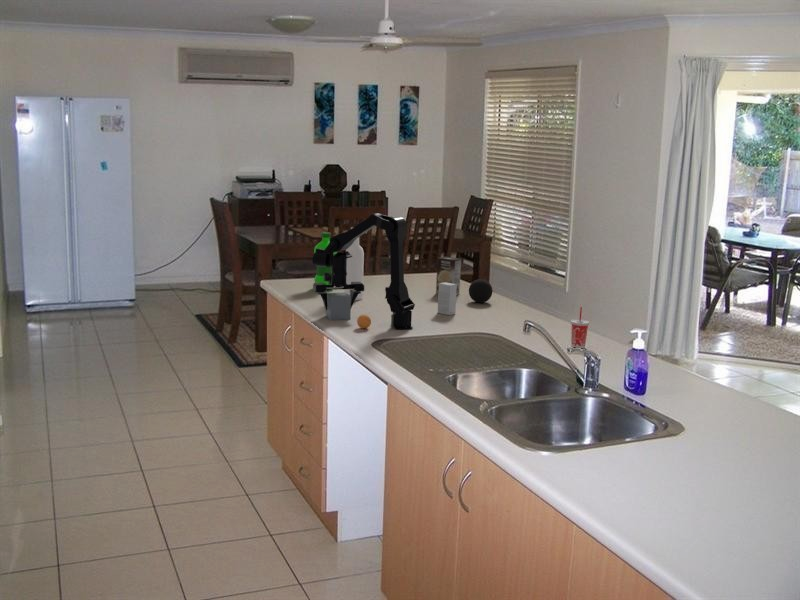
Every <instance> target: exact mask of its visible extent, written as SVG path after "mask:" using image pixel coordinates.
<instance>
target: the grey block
mask: <svg viewBox="0 0 800 600" xmlns="http://www.w3.org/2000/svg"><path fill="white" fill-rule="evenodd" d="M326 293H327V305H328V307H327V310H326V309H325V316H326V317H327V318H328V319H329V320H330V321H339V320H351V310H352V308H351V296H350V295H348V294H347V293H346V292H345V293H344V292H326Z"/></svg>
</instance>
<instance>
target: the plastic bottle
mask: <svg viewBox="0 0 800 600" xmlns="http://www.w3.org/2000/svg"><path fill="white" fill-rule="evenodd" d="M331 237H332V233H331V232H328V231H327V232H325V231H324V232H321V233H320V238H322V240H321V241H320V242H319V243H317V244H316V245H315V246H314V250H313V251H314V252H313V253H315V252H316V249H317V248H322V249H326V247H327V246H328V244H329V242H330V238H331ZM336 253H338V252H334V253H333V254H336ZM324 273H329V275H330V274H331V266H330V267H321V266H316V275H315V276H314V281H313V282H314V283H324V284H326V285H331V284H328V282H324V279H323V275H324Z"/></svg>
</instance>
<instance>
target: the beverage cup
mask: <svg viewBox="0 0 800 600" xmlns="http://www.w3.org/2000/svg"><path fill="white" fill-rule="evenodd" d="M582 308H583V307H582V306H580V307H579V319H571V320H570V325H571V339H570V340H571V344H570V346H571V348H572V347H576V348H583V350H584V349H586V342H587V335H588V328H589V326H590V325H589V324H590V321H589V320H585V319H582V312H583V311H582V310H583V309H582ZM576 348H575V349H576Z"/></svg>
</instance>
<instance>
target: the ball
mask: <svg viewBox="0 0 800 600" xmlns="http://www.w3.org/2000/svg"><path fill="white" fill-rule="evenodd" d="M356 322H357V326H358V327H359V328H360V329H364V330H365V329H368V328H369V327H370V326H371V324H372V319H371V317H370V316H369V315H367V314H361V315H359V316H358V317H357V321H356Z"/></svg>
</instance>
